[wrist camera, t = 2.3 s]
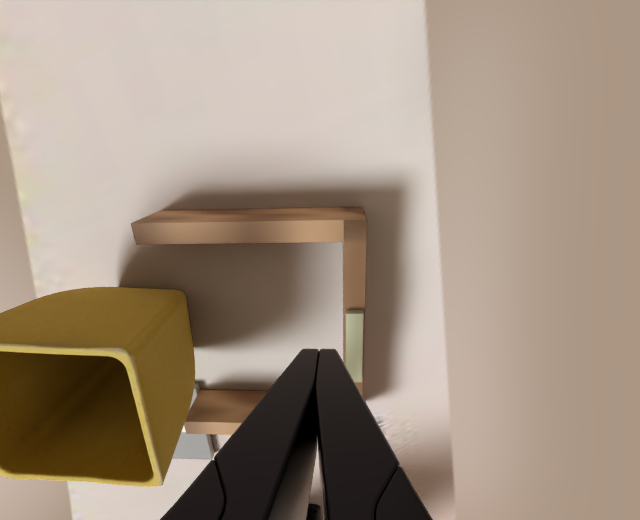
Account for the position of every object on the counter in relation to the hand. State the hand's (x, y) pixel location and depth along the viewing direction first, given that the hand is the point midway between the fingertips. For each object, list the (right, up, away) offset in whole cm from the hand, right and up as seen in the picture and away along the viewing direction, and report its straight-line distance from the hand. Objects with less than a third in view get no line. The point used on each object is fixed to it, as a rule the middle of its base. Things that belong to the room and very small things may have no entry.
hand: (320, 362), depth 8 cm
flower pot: (-12, -2, +15) cm, 19 cm away
